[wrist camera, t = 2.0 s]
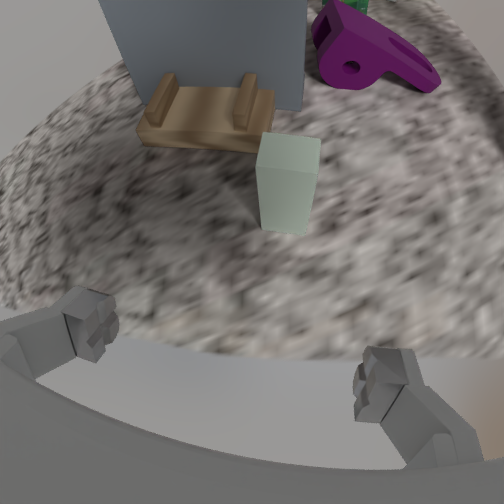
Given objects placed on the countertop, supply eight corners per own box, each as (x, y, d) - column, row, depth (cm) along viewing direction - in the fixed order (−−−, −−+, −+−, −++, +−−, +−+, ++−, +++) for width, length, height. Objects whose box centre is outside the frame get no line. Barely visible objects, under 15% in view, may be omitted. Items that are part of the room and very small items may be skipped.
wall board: (304, 85, 36) (310, -44, 19) (300, 111, 34) (307, -30, 17) (157, 80, 38) (118, -27, 21) (143, 104, 37) (94, -9, 20)
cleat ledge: (275, 108, 34) (274, 73, 29) (265, 154, 32) (263, 118, 27) (164, 104, 36) (151, 72, 31) (144, 146, 34) (127, 114, 29)
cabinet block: (308, 206, 30) (321, 138, 20) (305, 235, 29) (318, 174, 19) (266, 201, 30) (262, 131, 21) (261, 229, 29) (255, 166, 20)
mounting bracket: (396, 86, 43) (301, 38, 37) (428, 56, 36) (331, -4, 30) (410, 127, 40) (307, 75, 34) (449, 95, 33) (344, 27, 27)
